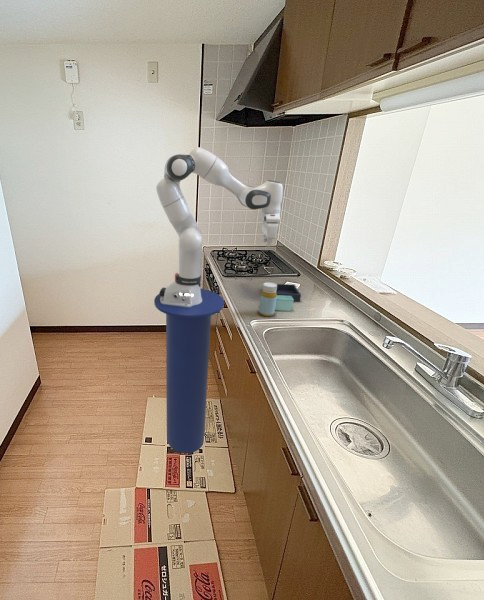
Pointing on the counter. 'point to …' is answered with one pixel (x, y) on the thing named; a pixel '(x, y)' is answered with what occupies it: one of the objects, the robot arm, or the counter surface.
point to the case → (284, 303)
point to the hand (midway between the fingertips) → (266, 243)
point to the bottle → (268, 299)
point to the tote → (288, 291)
